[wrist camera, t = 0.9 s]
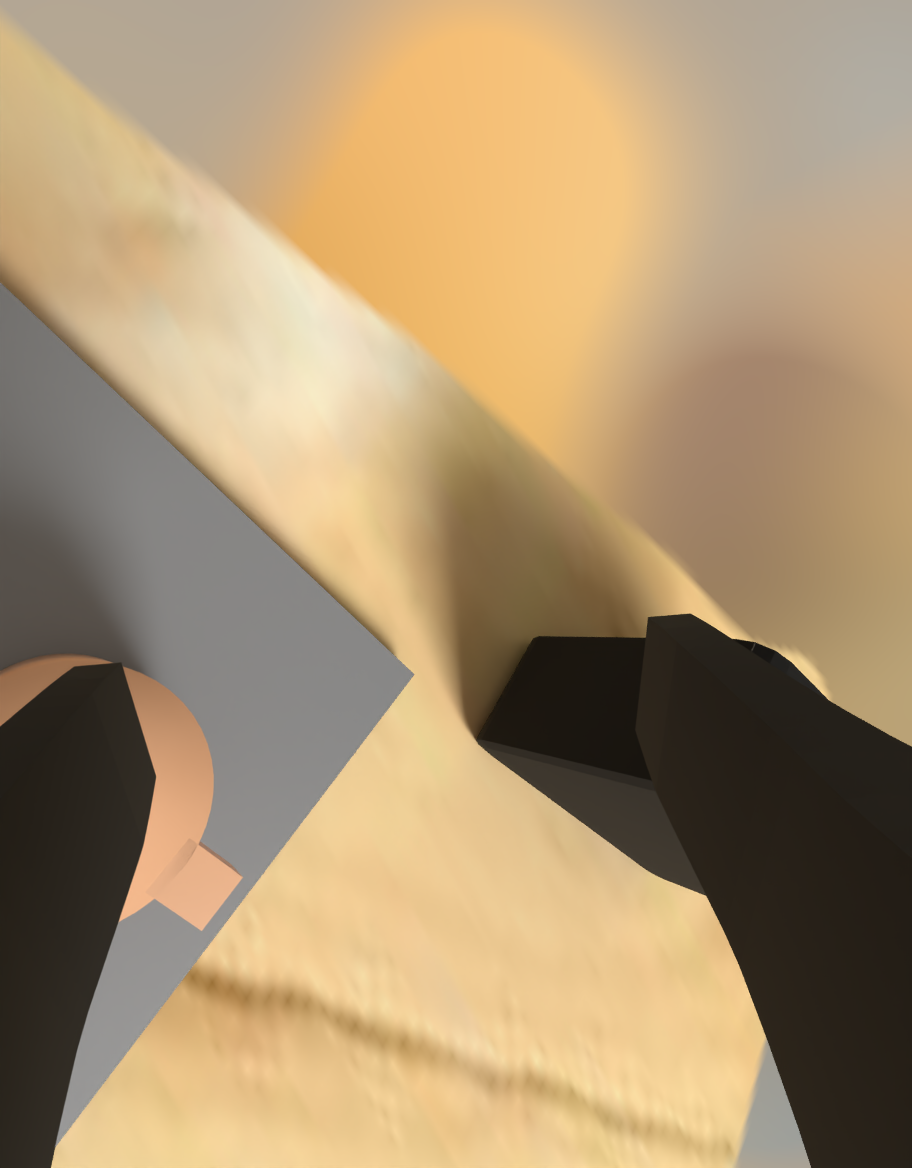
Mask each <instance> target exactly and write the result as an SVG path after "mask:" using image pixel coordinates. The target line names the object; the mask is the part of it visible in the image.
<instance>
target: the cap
mask: <svg viewBox="0 0 912 1168" xmlns="http://www.w3.org/2000/svg"><path fill="white" fill-rule="evenodd" d="M108 663H112V662H109V661H107V660H104V659H101V658H97V657H93V656H88V655H81V654H51V655H44V656H38V657H34V658H31V659H27V660H24V661H21V662H18V663H16V664H13V665H10V666H9V667H7V668H5V669H3V670H1V671H0V726H1V725H2V724H3V723H5V722H6V721H7V720H8V719H9V718H11V717H12V716H13V715H14V714H15V713H17V712H18V711H19V710H20V709H21V708H23V707H24V706H25V705H26V704H27V703H28V702H30V701H31V700H32V699H33V698H34V697H36V696H37V695H38V694H39V693H41V692H42V691H43V690H44V689H45V688H47V687H48V686H49V685H50V684H52V683H53V682H54V681H55V680H57V679H58V678H59V677H60V676H62V675H63V674H64V673H66V672H67V671H69V670H70V669H71V668H73V667H74V666H84V665H96V664H108ZM123 669H124V673H125V676H126V679H127V682H128V686H129V689H130V692H131V695H132V699H133V702H134V705H135V708H136V712H137V715H138V718H139V721H140V725H141V728H142V731H143V735H144V738H145V741H146V744H147V748H148V751H149V754H150V757H151V761H152V764H153V767H154V770H155V774H156V782H155V788H154V793H153V799H152V805H151V811H150V816H149V821H148V826H147V831H146V836H145V841H144V846H143V849H142V852H141V855H140V858H139V862H138V865H137V868H136V871H135V874H134V877H133V880H132V883H131V886H130V889H129V892H128V895H127V898H126V901H125V904H124V907H123V910H122V913H121V916H120V919H119V922H120V921H121V920H123V919H125V918H127V917H128V916H130V915H132V914H134V913H136V912H137V911H138V910H140V909H141V908H143V907H144V906H145V905H147V904H148V903H150V902H151V901H152V900H154V899H156V900H157V901H159V902H160V903H161V904H163V905H164V906H166V907H167V908H169V909H170V910H172V911H173V912H175V913H176V914H178V915H179V916H180V917H182V918H183V919H185V920H186V921H188V922H189V923H191V924H192V925H194V926H195V927H197V928H198V929H199V930H201V931H202V930H203V929H204V927H205V926H206V925H207V924H208V922H209V921H210V920H211V918H212V917H213V916H214V914H215V913H216V912H217V911H218V909H219V908H220V907H221V905H222V904H223V903H224V901H225V900H226V899H227V898H228V896H229V895H230V894H231V892H232V891H233V890H234V888H235V887H236V886H237V885H238V883H239V882H240V881H241V879H242V878H243V877H242V876H241V875H240V873H239V872H238V871H237V870H236V869H235V868H234V867H233V866H232V864H230V863H229V862H228V861H226V860H225V859H224V858H222V857H221V856H219V855H218V854H217V853H215V852H214V851H213V850H211V849H210V848H209V847H207V846H206V845H205V844H203V843H202V842H200V840H201V837H202V835H203V833H204V830H205V828H206V825H207V822H208V818H209V814H210V811H211V805H212V799H213V788H214V774H213V766H212V758H211V755H210V751H209V747H208V743H207V741H206V739H205V736H204V734H203V731H202V729H201V727H200V726H199V724H198V722H197V721H196V719H195V717H194V716H193V714H192V713H191V712H190V710H189V709H188V708H187V707H186V706H185V704H184V703H183V702H182V701H181V700H180V699H179V698H178V697H177V696H176V695H175V694H173V693H172V692H171V691H170V690H169V689H167V688H166V687H164V686H163V685H162V684H160V683H159V682H157V681H156V680H154V679H152V678H150V677H148V676H146V675H144V674H142V673H140V672H137V671H134V670H132V669H129V668H126V667H123Z"/></svg>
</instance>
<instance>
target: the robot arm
mask: <svg viewBox="0 0 912 1168" xmlns="http://www.w3.org/2000/svg"><path fill="white" fill-rule="evenodd" d="M635 731H636V734H637V737H638V740H639V743H640V746H641V749H642V752H643V756H644V759H645V762H646V765H647V768H648V771H649V774H650V776H651V779H652V782H653V785H654V788H655V791H656V793H657V795H658V797H659V800H660V802H661V804H662V806H663V808H664V810H665V812H666V814H667V816H668V818H669V820H670V823H671V825H672V827H673V829H674V831H675V833H676V835H677V837H678V839H679V841H680V843H681V845H682V847H683V849H684V851H685V853H686V855H687V857H688V859H689V861H690V863H691V865H692V868H693V870H694V872H695V874H696V876H697V878H698V880H699V882H700V884H701V886H702V888H703V890H704V892H705V894H706V896H707V898H708V900H709V902H710V904H711V906H712V908H713V910H714V912H715V914H716V916H717V918H718V920H719V922H720V924H721V926H722V928H723V930H724V932H725V935H726V937H727V939H728V941H729V944H730V946H731V948H732V950H733V953H734V955H735V957H736V959H737V962H738V964H739V966H740V969H741V971H742V974H743V977H744V979H745V982H746V985H747V987H748V990H749V993H750V995H751V998H752V1001H753V1003H754V1006H755V1008H756V1011H757V1014H758V1016H759V1019H760V1022H761V1024H762V1027H763V1030H764V1032H765V1035H766V1038H767V1040H768V1043H769V1046H770V1049H771V1052H772V1054H773V1057H774V1060H775V1063H776V1066H777V1069H778V1072H779V1074H780V1077H781V1080H782V1083H783V1086H784V1089H785V1091H786V1094H787V1097H788V1100H789V1103H790V1106H791V1108H792V1111H793V1114H794V1117H795V1120H796V1123H797V1125H798V1128H799V1131H800V1134H801V1138H802V1141H803V1143H804V1147H805V1150H806V1153H807V1156H808V1159H809V1162H810V1165H811V1168H912V747H911V746H909V745H907V744H905V743H904V742H901V741H900V740H898V739H896V738H894V737H892V736H890V735H888V734H887V733H885V732H883V731H881V730H880V729H878V728H876V727H874V726H872V725H871V724H869V723H867V722H865V721H864V720H862V719H860V718H858V717H856V716H855V715H853V714H851V713H849V712H847V711H845V710H844V709H842V708H840V707H839V706H837V705H836V704H834V703H832V702H831V701H829V700H827V699H826V698H824V697H822V696H820V695H819V694H817V693H816V692H814V691H812V690H811V689H809V688H807V687H806V686H804V685H803V684H801V683H799V682H798V681H796V680H795V679H793V678H792V677H790V676H788V675H787V674H785V673H784V672H782V671H780V670H779V669H777V668H776V667H774V666H773V665H771V664H770V663H768V662H766V661H765V660H763V659H762V658H760V657H759V656H757V655H756V654H754V653H753V652H751V651H750V650H748V649H747V648H745V647H743V646H742V645H740V644H739V643H737V642H736V641H734V640H733V639H731V638H730V637H728V636H727V635H725V634H723V633H722V632H720V631H719V630H717V629H716V628H714V627H712V626H711V625H709V624H708V623H706V622H704V621H703V620H701V619H699V618H697V617H696V616H694V615H692V614H680V615H668V616H657V617H648V623H647V632H646V641H645V650H644V658H643V667H642V676H641V684H640V693H639V702H638V711H637V719H636V728H635ZM155 782H156V774H155V770H154V767H153V764H152V761H151V757H150V754H149V751H148V748H147V744H146V741H145V738H144V735H143V731H142V728H141V725H140V721H139V718H138V715H137V712H136V708H135V705H134V702H133V699H132V695H131V692H130V689H129V686H128V682H127V679H126V676H125V673H124V669H123V666H122V663H121V662H119V663H108V664H96V665H84V666H74V667H73V668H71V669H70V670H69V671H67V672H66V673H64V674H63V675H62V676H60V677H59V678H58V679H57V680H55V681H54V682H53V683H52V684H50V685H49V686H48V687H47V688H45V689H44V690H43V691H42V692H41V693H39V694H38V695H37V696H36V697H34V698H33V699H32V700H31V701H30V702H28V703H27V704H26V705H25V706H24V707H23V708H21V709H20V710H19V711H18V712H17V713H15V714H14V715H13V716H12V717H11V718H9V719H8V720H7V721H6V722H5V723H3V724H2V725H1V726H0V1168H51V1165H52V1160H53V1155H54V1150H55V1145H56V1141H57V1136H58V1132H59V1127H60V1123H61V1118H62V1114H63V1110H64V1105H65V1101H66V1097H67V1092H68V1088H69V1084H70V1079H71V1075H72V1071H73V1066H74V1062H75V1058H76V1053H77V1049H78V1046H79V1042H80V1039H81V1035H82V1032H83V1029H84V1025H85V1022H86V1018H87V1015H88V1011H89V1008H90V1005H91V1002H92V999H93V996H94V993H95V990H96V987H97V985H98V982H99V979H100V976H101V973H102V970H103V967H104V964H105V961H106V958H107V955H108V952H109V949H110V946H111V943H112V940H113V937H114V934H115V931H116V928H117V925H118V922H119V919H120V916H121V913H122V910H123V907H124V904H125V901H126V898H127V895H128V892H129V889H130V886H131V883H132V880H133V877H134V874H135V871H136V868H137V865H138V862H139V858H140V855H141V852H142V849H143V846H144V841H145V836H146V831H147V826H148V821H149V816H150V811H151V805H152V799H153V793H154V788H155Z"/></svg>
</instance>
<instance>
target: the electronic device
mask: <svg viewBox="0 0 912 1168" xmlns="http://www.w3.org/2000/svg"><path fill="white" fill-rule="evenodd" d="M733 640H734V641H736V642H737V643H739V644H740V645H742V646H743V647H745V648H747V649H748V650H750V651H751V652H753V653H754V654H756V655H757V656H759V657H760V658H762V659H763V660H765V661H766V662H768V663H770V664H771V665H773V666H774V667H776V668H777V669H779V670H780V671H782V672H784V673H785V674H787V675H788V676H790V677H792V678H793V679H795V680H796V681H798V682H799V683H801V684H803V685H804V686H806V687H807V688H809V689H811V690H812V691H814V692H816V693H817V694H819V695H820V696H822V697H824V698H826V697H825V696H824V695H823V694H822V693H821V692H820V691H819V690H818V689H817V688H816V687H815V686H814V685H813V684H812V683H811V682H810V681H809V680H808V679H807V678H806V677H805V676H804V675H803V674H802V673H801V672H800V671H799V670H798V669H797V668H796V667H795V665H794V664H793V663H792V662H790V661H789V660H788V659H786V658H785V657H783V656H782V655H781V654H779V653H778V652H777V651H775V650H772V649H770V648H768V647H765V646H763V645H760V644H758V643H756V642H750V641H744V640H738V639H733ZM645 641H646V638H620V637H550V636H539V637H536V638H533V640H532V642H531V643H530V645H529V647H528V649H527V651H526V652H525V654H524V656H523V658H522V659H521V661H520V663H519V665H518V667H517V668H516V670H515V672H514V674H513V675H512V677H511V679H510V681H509V682H508V684H507V686H506V688H505V690H504V691H503V693H502V695H501V697H500V698H499V700H498V702H497V704H496V706H495V707H494V709H493V711H492V713H491V714H490V716H489V718H488V720H487V722H486V723H485V725H484V727H483V729H482V730H481V732H480V734H479V736H478V737H477V739H476V740H477V742H478V744H479V745H480V746H481V747H482V748H483V749H485V750H486V751H487V752H488V753H489V754H490V755H492V756H493V757H494V758H496V759H497V760H498V761H500V762H501V763H502V764H504V765H505V766H506V767H508V768H509V769H510V770H512V771H513V772H515V773H516V774H517V775H519V776H520V777H521V778H523V779H524V780H525V781H527V782H528V783H529V784H531V785H532V786H534V787H535V788H536V789H538V790H539V791H540V792H542V793H543V794H544V795H546V796H547V797H548V798H550V799H551V800H552V801H554V802H555V803H557V804H558V805H559V806H561V807H562V808H563V809H565V810H566V811H567V812H569V813H570V814H571V815H573V816H574V817H575V818H577V819H578V820H580V821H581V822H582V823H584V824H585V825H586V826H588V827H589V828H590V829H592V830H593V831H594V832H596V833H597V834H598V835H600V836H601V837H603V838H604V839H605V840H607V841H608V842H609V843H611V844H612V845H613V846H615V847H616V848H617V849H619V850H620V851H621V852H623V853H624V854H626V855H627V856H628V857H630V858H631V859H632V860H634V861H635V862H636V863H638V864H639V865H640V866H642V867H643V868H645V869H646V870H648V871H649V872H651V873H653V874H655V875H656V876H658V877H661V878H663V879H665V880H667V881H670V882H673V883H675V884H678V885H680V886H683V887H685V888H688V889H690V890H693V891H696V892H698V893H701V894H703V895H706V894H705V892H704V890H703V888H702V886H701V884H700V882H699V880H698V878H697V876H696V874H695V872H694V870H693V868H692V865H691V863H690V861H689V859H688V857H687V855H686V853H685V851H684V849H683V847H682V845H681V843H680V841H679V839H678V837H677V835H676V833H675V831H674V829H673V827H672V825H671V823H670V820H669V818H668V816H667V814H666V812H665V810H664V808H663V806H662V804H661V802H660V800H659V797H658V795H657V793H656V791H655V788H654V785H653V782H652V779H651V776H650V774H649V771H648V768H647V765H646V762H645V759H644V756H643V752H642V749H641V746H640V743H639V740H638V737H637V734H636V731H635V728H636V719H637V711H638V702H639V693H640V684H641V676H642V667H643V658H644V650H645ZM826 699H827V698H826ZM827 700H828V699H827Z"/></svg>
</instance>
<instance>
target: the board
mask: <svg viewBox="0 0 912 1168" xmlns="http://www.w3.org/2000/svg"><path fill="white" fill-rule="evenodd" d="M51 654H81V655H88V656H93V657H97V658H101V659H104V660H107V661H109V662H112V663H119V662H121V663H122V666H123V667H126V668H129V669H132V670H134V671H137V672H140V673H142V674H144V675H146V676H148V677H150V678H152V679H154V680H156V681H157V682H159V683H160V684H162V685H163V686H164V687H166V688H167V689H169V690H170V691H171V692H172V693H173V694H175V695H176V696H177V697H178V698H179V699H180V700H181V701H182V702H183V703H184V704H185V706H186V707H187V708H188V709H189V710H190V712H191V713H192V714H193V716H194V717H195V719H196V721H197V722H198V724H199V726H200V727H201V729H202V731H203V734H204V736H205V739H206V741H207V743H208V747H209V751H210V755H211V758H212V766H213V774H214V788H213V799H212V805H211V811H210V814H209V818H208V822H207V825H206V828H205V830H204V833H203V835H202V837H201V840H200V842H202V843H203V844H205V845H206V846H207V847H209V848H210V849H211V850H213V851H214V852H215V853H217V854H218V855H219V856H221V857H222V858H224V859H225V860H226V861H228V862H229V863H230V864H232V866H233V867H234V868H235V869H236V870H237V871H238V872H239V873H240V875H241V876H242V877H243V878H242V879H241V881H240V882H239V883H238V885H237V886H236V887H235V888H234V890H233V891H232V892H231V894H230V895H229V896H228V898H227V899H226V900H225V901H224V903H223V904H222V905H221V907H220V908H219V909H218V911H217V912H216V913H215V914H214V916H213V917H212V918H211V920H210V921H209V922H208V924H207V925H206V926H205V927H204V929H203V930H202V931H201V930H199V929H198V928H197V927H195V926H194V925H192V924H191V923H189V922H188V921H186V920H185V919H183V918H182V917H180V916H179V915H178V914H176V913H175V912H173V911H172V910H170V909H169V908H167V907H166V906H164V905H163V904H161V903H160V902H159V901H157V900H156V899H154V900H152V901H151V902H150V903H148V904H147V905H145V906H144V907H143V908H141V909H140V910H138V911H137V912H136V913H134V914H132V915H130V916H128V917H127V918H125V919H123V920H121V921H120V922H118V925H117V928H116V931H115V934H114V937H113V940H112V943H111V946H110V949H109V952H108V955H107V958H106V961H105V964H104V967H103V970H102V973H101V976H100V979H99V982H98V985H97V987H96V990H95V993H94V996H93V999H92V1002H91V1005H90V1008H89V1011H88V1015H87V1018H86V1022H85V1025H84V1029H83V1032H82V1035H81V1039H80V1042H79V1046H78V1049H77V1053H76V1058H75V1062H74V1066H73V1071H72V1075H71V1079H70V1084H69V1088H68V1092H67V1097H66V1101H65V1105H64V1110H63V1114H62V1118H61V1123H60V1127H59V1132H58V1136H57V1141H56V1145H57V1144H58V1143H59V1142H60V1140H61V1139H62V1138H63V1136H64V1135H65V1134H66V1132H67V1131H68V1130H69V1128H70V1127H71V1126H72V1124H73V1123H74V1122H75V1120H76V1119H77V1118H78V1117H79V1115H80V1114H81V1113H82V1111H83V1110H84V1109H85V1107H86V1106H87V1105H88V1103H89V1102H90V1101H91V1099H92V1098H93V1097H94V1095H95V1094H96V1093H97V1092H98V1090H99V1089H100V1088H101V1086H102V1085H103V1084H104V1082H105V1081H106V1080H107V1078H108V1077H109V1076H110V1074H111V1073H112V1072H113V1070H114V1069H115V1068H116V1067H117V1065H118V1064H119V1063H120V1061H121V1060H122V1059H123V1057H124V1056H125V1055H126V1053H127V1052H128V1051H129V1049H130V1048H131V1047H132V1045H133V1044H134V1043H135V1042H136V1040H137V1039H138V1038H139V1036H140V1035H141V1034H142V1032H143V1031H144V1030H145V1028H146V1027H147V1026H148V1024H149V1023H150V1022H151V1020H152V1019H153V1018H154V1016H155V1015H156V1014H157V1013H158V1011H159V1010H160V1009H161V1007H162V1006H163V1005H164V1003H165V1002H166V1001H167V999H168V998H169V997H170V995H171V994H172V993H173V991H174V990H175V989H176V988H177V986H178V985H179V984H180V982H181V981H182V980H183V978H184V977H185V976H186V974H187V973H188V972H189V970H190V969H191V968H192V966H193V965H194V964H195V963H196V961H197V960H198V959H199V957H200V956H201V955H202V953H203V952H204V951H205V949H206V948H207V947H208V945H209V944H210V943H211V941H212V940H213V939H214V938H215V936H216V935H217V934H218V932H219V931H220V930H221V928H222V927H223V926H224V924H225V923H226V922H227V920H228V919H229V918H230V916H231V915H232V914H233V913H234V911H235V910H236V909H237V907H238V906H239V905H240V903H241V902H242V901H243V899H244V898H245V897H246V895H247V894H248V893H249V891H250V890H251V889H252V888H253V886H254V885H255V884H256V882H257V881H258V880H259V878H260V877H261V876H262V874H263V873H264V872H265V870H266V869H267V868H268V866H269V865H270V864H271V862H272V861H273V860H274V859H275V857H276V856H277V855H278V853H279V852H280V851H281V849H282V848H283V847H284V845H285V844H286V843H287V841H288V840H289V839H290V837H291V836H292V835H293V834H294V832H295V831H296V830H297V828H298V827H299V826H300V824H301V823H302V822H303V820H304V819H305V818H306V816H307V815H308V814H309V812H310V811H311V810H312V809H313V807H314V806H315V805H316V803H317V802H318V801H319V799H320V798H321V797H322V795H323V794H324V793H325V791H326V790H327V789H328V787H329V786H330V785H331V784H332V782H333V781H334V780H335V778H336V777H337V776H338V774H339V773H340V772H341V770H342V769H343V768H344V766H345V765H346V764H347V762H348V761H349V760H350V759H351V757H352V756H353V755H354V753H355V752H356V751H357V749H358V748H359V747H360V745H361V744H362V743H363V741H364V740H365V739H366V737H367V736H368V735H369V734H370V732H371V731H372V730H373V728H374V727H375V726H376V724H377V723H378V722H379V720H380V719H381V718H382V716H383V715H384V714H385V712H386V711H387V710H388V708H389V707H390V706H391V705H392V703H393V702H394V701H395V699H396V698H397V697H398V695H399V694H400V693H401V691H402V690H403V689H404V687H405V686H406V685H407V683H408V682H409V681H410V680H411V678H412V677H413V676H414V674H413V673H412V672H411V671H410V670H409V669H408V668H407V667H406V666H405V665H404V664H403V663H402V662H401V661H400V660H398V659H397V658H396V657H395V656H394V655H393V654H392V653H391V652H390V651H389V650H388V649H387V648H386V647H385V646H384V645H383V644H382V643H381V642H379V641H378V640H377V639H376V638H375V637H374V636H373V635H372V634H371V633H370V632H369V631H368V630H367V629H366V628H365V627H364V626H363V625H362V624H360V623H359V622H358V621H357V620H356V619H355V618H354V617H353V616H352V615H351V614H350V613H349V612H348V611H347V610H346V609H345V608H344V607H343V606H341V605H340V604H339V603H338V602H337V601H336V600H335V599H334V598H333V597H332V596H331V595H330V594H329V593H328V592H327V591H326V590H325V589H324V588H322V587H321V586H320V585H319V584H318V583H317V582H316V581H315V580H314V579H313V578H312V577H311V576H310V575H309V574H308V573H307V572H306V571H305V570H303V569H302V568H301V567H300V566H299V565H298V564H297V563H296V562H295V561H294V560H293V559H292V558H291V557H290V556H289V555H288V554H287V553H285V552H284V551H283V550H282V549H281V548H280V547H279V546H278V545H277V544H276V543H275V542H274V541H273V540H272V539H271V538H270V537H269V536H268V535H266V534H265V533H264V532H263V531H262V530H261V529H260V528H259V527H258V526H257V525H256V524H255V523H254V522H253V521H252V520H251V519H250V518H249V517H247V516H246V515H245V514H244V513H243V512H242V511H241V510H240V509H239V508H238V507H237V506H236V505H235V504H234V503H233V502H232V501H231V500H230V499H228V498H227V497H226V496H225V495H224V494H223V493H222V492H221V491H220V490H219V489H218V488H217V487H216V486H215V485H214V484H213V483H212V482H211V481H209V480H208V479H207V478H206V477H205V476H204V475H203V474H202V473H201V472H200V471H199V470H198V469H197V468H196V467H195V466H194V465H193V464H192V463H190V462H189V461H188V460H187V459H186V458H185V457H184V456H183V455H182V454H181V453H180V452H179V451H178V450H177V449H176V448H175V447H174V446H173V445H171V444H170V443H169V442H168V441H167V440H166V439H165V438H164V437H163V436H162V435H161V434H160V433H159V432H158V431H157V430H156V429H155V428H154V427H152V426H151V425H150V424H149V423H148V422H147V421H146V420H145V419H144V418H143V417H142V416H141V415H140V414H139V413H138V412H137V411H136V410H135V409H133V408H132V407H131V406H130V405H129V404H128V403H127V402H126V401H125V400H124V399H123V398H122V397H121V396H120V395H119V394H118V393H117V392H116V391H114V390H113V389H112V388H111V387H110V386H109V385H108V384H107V383H106V382H105V381H104V380H103V379H102V378H101V377H100V376H99V375H98V374H97V373H95V372H94V371H93V370H92V369H91V368H90V367H89V366H88V365H87V364H86V363H85V362H84V361H83V360H82V359H81V358H80V357H79V356H78V355H76V354H75V353H74V352H73V351H72V350H71V349H70V348H69V347H68V346H67V345H66V344H65V343H64V342H63V341H62V340H61V339H60V338H59V337H57V336H56V335H55V334H54V333H53V332H52V331H51V330H50V329H49V328H48V327H47V326H46V325H45V324H44V323H43V322H42V321H41V320H40V319H38V318H37V317H36V316H35V315H34V314H33V313H32V312H31V311H30V310H29V309H28V308H27V307H26V306H25V305H24V304H23V303H22V302H21V301H19V300H18V299H17V298H16V297H15V296H14V295H13V294H12V293H11V292H10V291H9V290H8V289H7V288H6V287H5V286H4V285H3V284H2V283H0V671H1V670H3V669H5V668H7V667H9V666H10V665H13V664H16V663H18V662H21V661H24V660H27V659H31V658H34V657H38V656H44V655H51ZM56 1145H55V1147H56Z"/></svg>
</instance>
